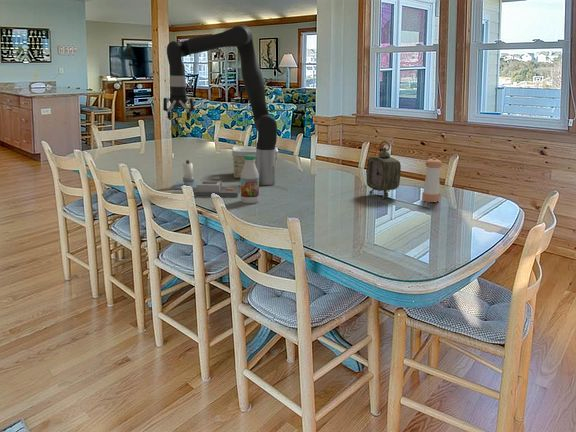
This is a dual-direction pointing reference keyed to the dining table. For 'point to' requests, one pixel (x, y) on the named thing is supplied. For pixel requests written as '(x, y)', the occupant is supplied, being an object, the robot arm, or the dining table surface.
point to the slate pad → (180, 183)
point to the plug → (188, 173)
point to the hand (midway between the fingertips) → (179, 120)
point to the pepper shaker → (432, 181)
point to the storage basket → (239, 155)
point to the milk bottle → (249, 181)
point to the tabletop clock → (383, 172)
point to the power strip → (215, 189)
